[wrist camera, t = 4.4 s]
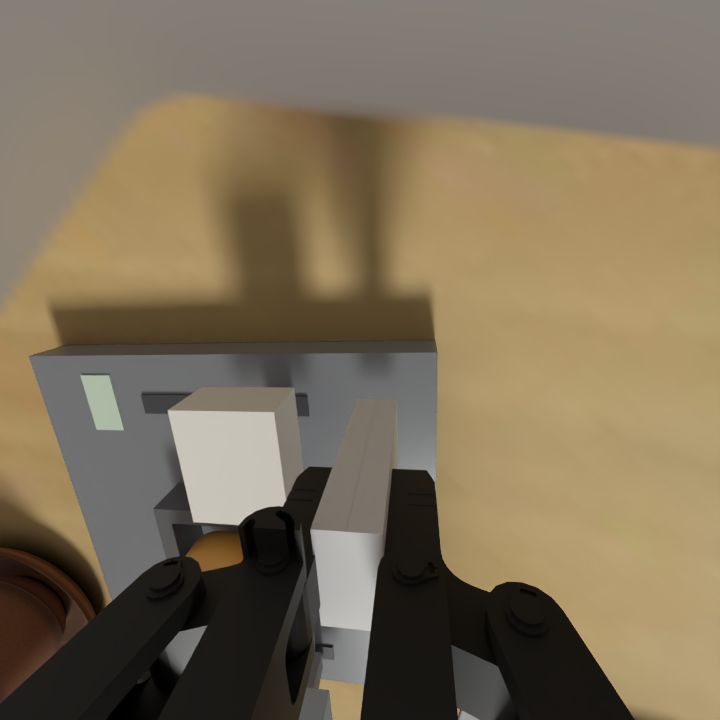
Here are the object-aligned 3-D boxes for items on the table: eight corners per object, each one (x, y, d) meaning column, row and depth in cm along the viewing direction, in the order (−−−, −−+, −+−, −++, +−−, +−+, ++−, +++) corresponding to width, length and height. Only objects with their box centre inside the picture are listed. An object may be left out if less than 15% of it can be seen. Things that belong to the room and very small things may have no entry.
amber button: (268, 533, 17) (246, 577, 15) (279, 603, 19) (260, 653, 16) (183, 527, 18) (149, 569, 16) (199, 595, 19) (170, 642, 17)
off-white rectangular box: (313, 363, 16) (274, 412, 11) (322, 453, 17) (289, 528, 13) (235, 364, 16) (167, 410, 12) (249, 451, 18) (193, 522, 13)
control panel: (435, 340, 17) (440, 368, 13) (431, 657, 24) (434, 736, 20) (64, 345, 20) (-16, 369, 16) (150, 624, 27) (106, 688, 23)
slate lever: (339, 634, 21) (319, 742, 16) (344, 688, 22) (326, 801, 17) (278, 627, 21) (241, 730, 17) (287, 680, 22) (255, 788, 18)
